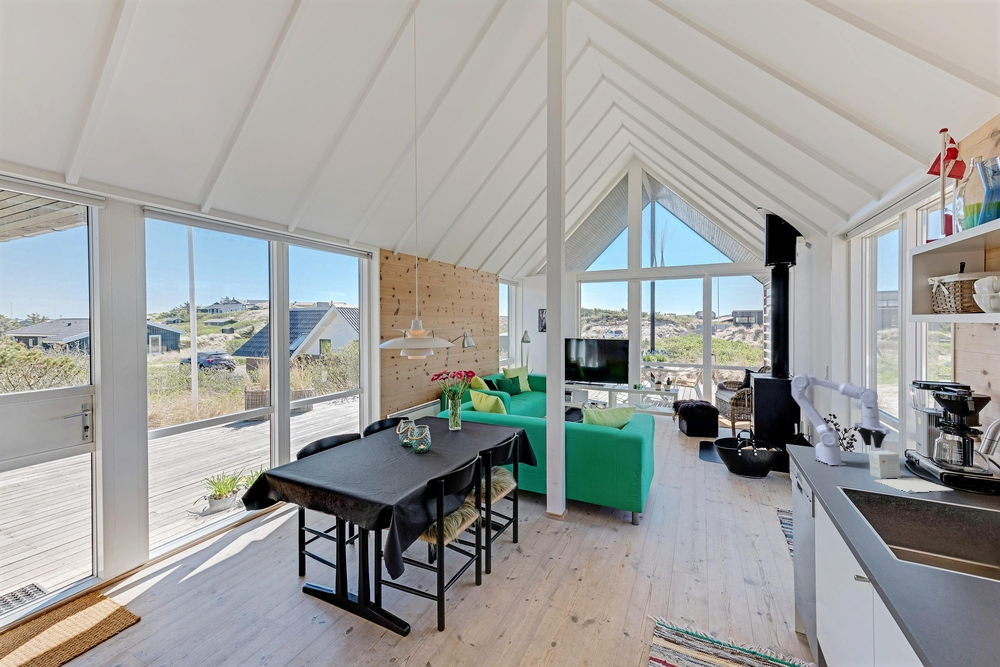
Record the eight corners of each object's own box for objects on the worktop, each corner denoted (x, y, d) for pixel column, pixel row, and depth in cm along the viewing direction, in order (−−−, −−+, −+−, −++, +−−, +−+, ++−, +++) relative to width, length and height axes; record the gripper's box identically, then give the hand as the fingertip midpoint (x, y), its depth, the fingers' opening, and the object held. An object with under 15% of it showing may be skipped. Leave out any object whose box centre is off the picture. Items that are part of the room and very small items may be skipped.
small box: (889, 474, 176) (888, 450, 176) (901, 478, 170) (899, 453, 170) (869, 474, 177) (868, 450, 177) (880, 479, 171) (878, 454, 171)
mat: (874, 481, 169) (874, 480, 169) (914, 478, 170) (914, 477, 170) (909, 493, 155) (909, 492, 155) (953, 490, 156) (953, 489, 156)
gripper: (895, 418, 176) (897, 449, 175) (863, 413, 190) (866, 441, 190) (879, 419, 175) (882, 451, 175) (849, 414, 190) (851, 442, 190)
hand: (872, 446), depth 183 cm, fingers open, 4 cm apart
